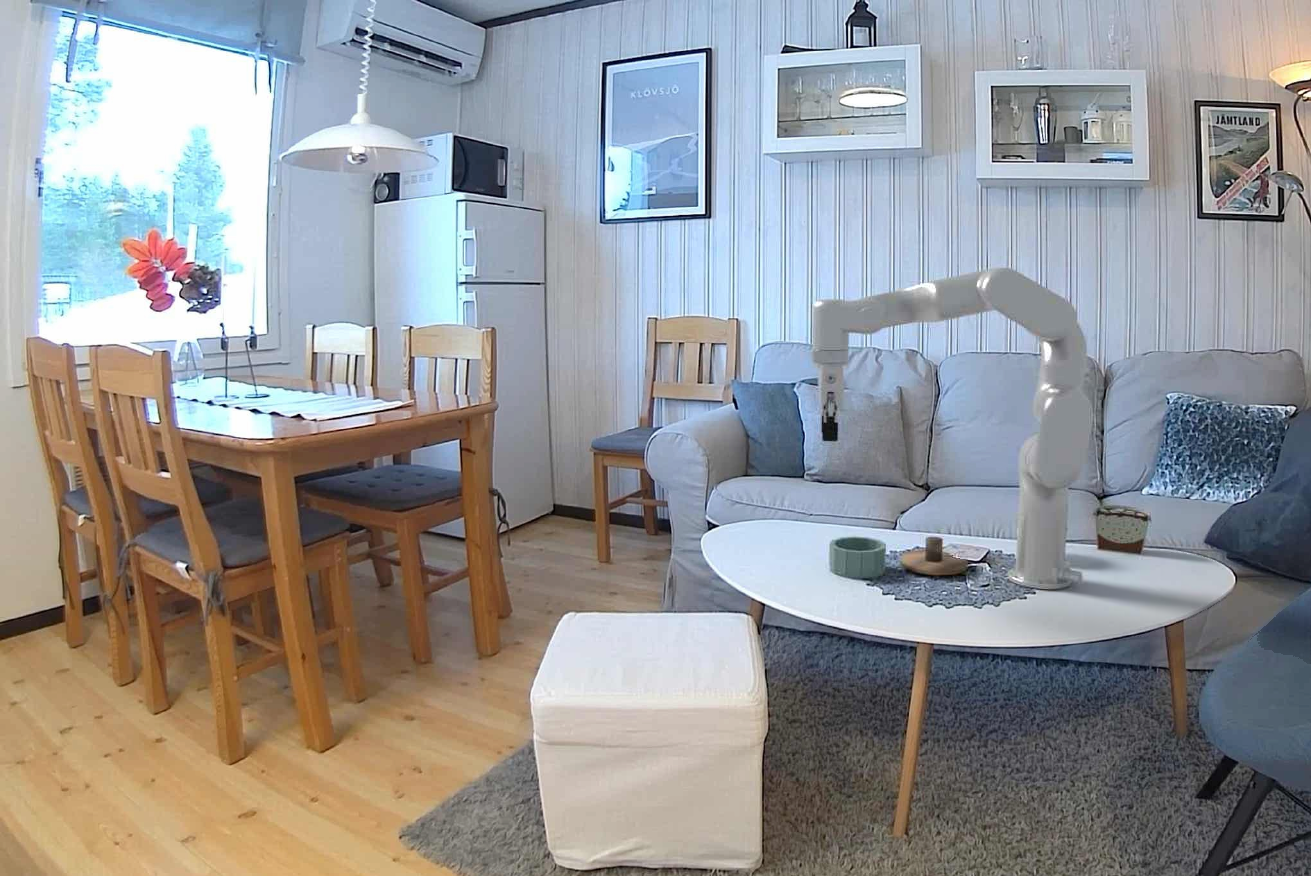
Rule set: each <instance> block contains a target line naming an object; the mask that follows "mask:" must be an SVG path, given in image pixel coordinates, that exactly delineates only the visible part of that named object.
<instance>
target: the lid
mask: <svg viewBox="0 0 1311 876" xmlns="http://www.w3.org/2000/svg"><path fill="white" fill-rule="evenodd" d="M943 542H944V540H943V538H942V537H939V536H928V537H926V538H925V549H923V550H912V551H908V552H905V553H903V554H901V555H900V559H899V561H900V562H899V563H900V566H901V567H902V568H904V569H905V570H908V571H911V572H913V573H918V574H924V575H930V576H931V575H932V576H950V575H958V574H961V573H963V572H965V571H966V570H968V562H969V561H968V559H966V558H965V559H960V558H956V557H953V555H949V554H950V553H951V552H949V553H947V552H948V551H943V546H944V543H943ZM954 556H955V555H954Z"/></svg>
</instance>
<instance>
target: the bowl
mask: <svg viewBox="0 0 1311 876" xmlns="http://www.w3.org/2000/svg"><path fill="white" fill-rule="evenodd" d="M828 553H829V554H828V555H829V557H828V558H829V559H828V560H829V561H828V562H829V563H828V564H829V565H828V566H829V571H830V572H831V573H832V574H834V575H836V576H839V577H843V578H846V579H847V578H848V579H859V580H863V579H864V580H865V579H874V578H875V579H876V578H879V577H882V576H883V575H885V572H886V566H887V565H886V563H887V559H886V558H887V557H886V556H887V544H886V543H885V542H883V541H881V540H880V539H876V538H872V537H868V536H867V537H865V536H844V537H843V536H841V537H838V538H835V539H832V540H831V541H830V542H829V551H828Z"/></svg>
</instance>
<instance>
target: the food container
mask: <svg viewBox="0 0 1311 876" xmlns="http://www.w3.org/2000/svg"><path fill="white" fill-rule="evenodd" d="M1094 516H1095V532H1096V549H1097V550H1098V551H1103V552H1111V553H1119V554H1127V555H1132V556H1133V555H1134V556H1143V552H1144V546H1145V540H1146V536H1147V530H1148V526H1149V522H1150V524H1152V516H1151V513H1150V512H1149V511H1148V510H1146V509H1142V508H1141V507H1140V508H1139V507H1135V506H1128V505H1119V504H1118V505H1114V504H1109V505H1108V504H1107V505H1100V506H1096V507H1095V509H1094V510H1093V514H1092V517H1094Z"/></svg>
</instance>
